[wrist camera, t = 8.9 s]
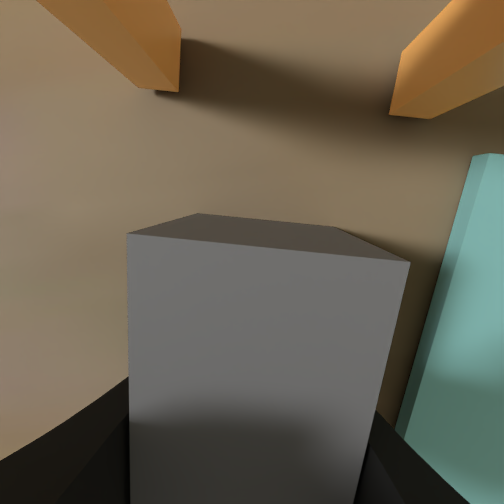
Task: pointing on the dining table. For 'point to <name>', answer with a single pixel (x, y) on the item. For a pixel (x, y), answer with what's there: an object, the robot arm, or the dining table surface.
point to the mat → (465, 348)
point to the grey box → (254, 359)
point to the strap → (408, 77)
